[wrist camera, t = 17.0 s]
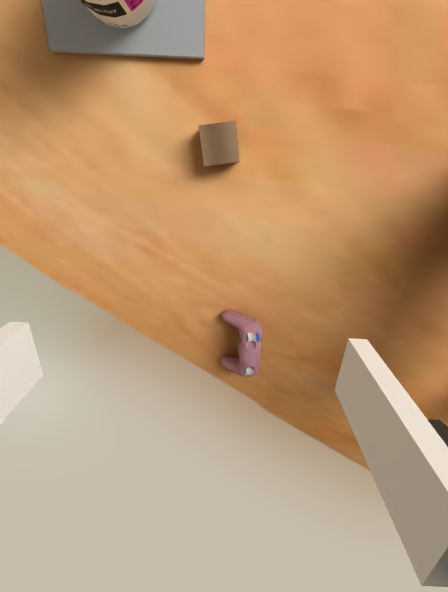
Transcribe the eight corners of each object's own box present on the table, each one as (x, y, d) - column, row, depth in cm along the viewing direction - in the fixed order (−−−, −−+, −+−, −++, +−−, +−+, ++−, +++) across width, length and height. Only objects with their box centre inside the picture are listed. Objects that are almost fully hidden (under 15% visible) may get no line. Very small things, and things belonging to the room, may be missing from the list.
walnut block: (235, 123, 34) (235, 120, 31) (238, 161, 35) (239, 161, 33) (201, 128, 34) (198, 125, 31) (206, 165, 36) (204, 166, 33)
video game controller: (242, 355, 49) (265, 382, 44) (218, 362, 47) (238, 391, 42) (245, 303, 45) (271, 324, 39) (218, 308, 43) (241, 332, 37)
